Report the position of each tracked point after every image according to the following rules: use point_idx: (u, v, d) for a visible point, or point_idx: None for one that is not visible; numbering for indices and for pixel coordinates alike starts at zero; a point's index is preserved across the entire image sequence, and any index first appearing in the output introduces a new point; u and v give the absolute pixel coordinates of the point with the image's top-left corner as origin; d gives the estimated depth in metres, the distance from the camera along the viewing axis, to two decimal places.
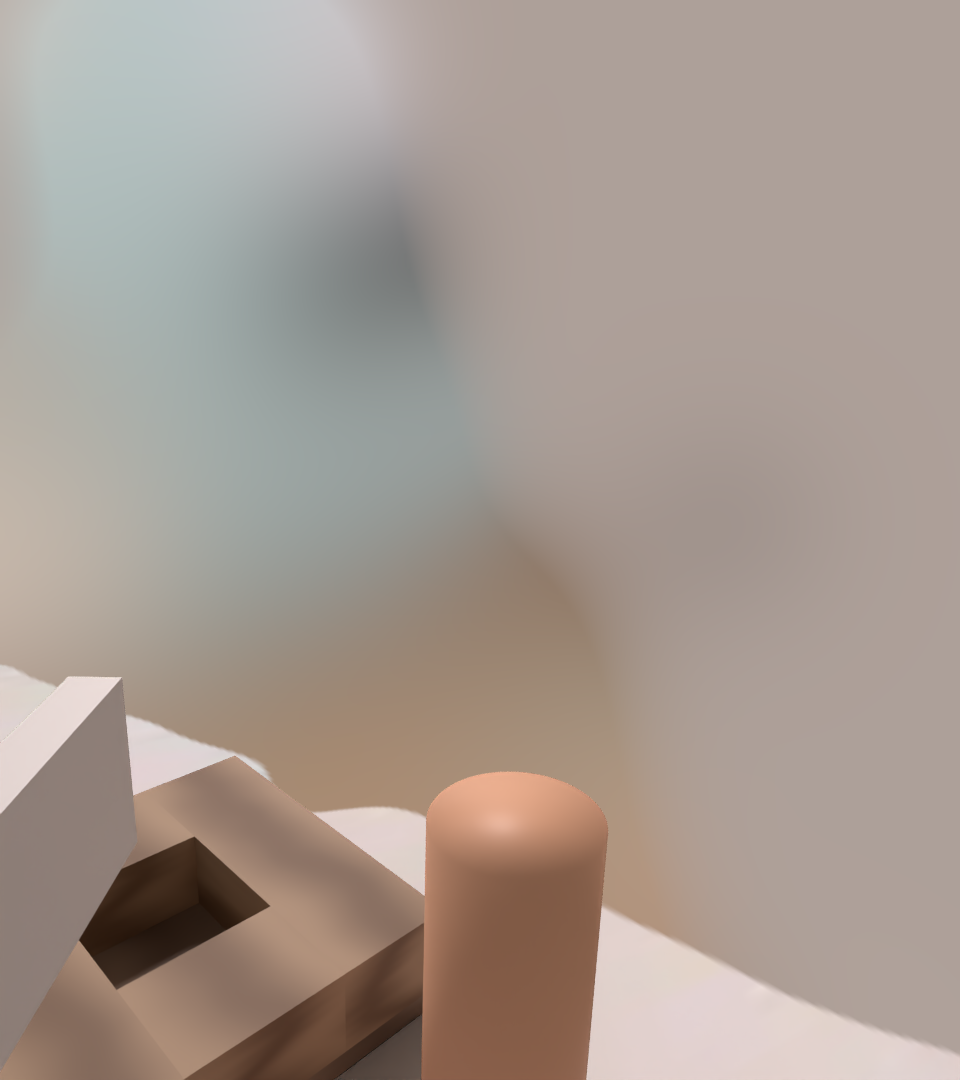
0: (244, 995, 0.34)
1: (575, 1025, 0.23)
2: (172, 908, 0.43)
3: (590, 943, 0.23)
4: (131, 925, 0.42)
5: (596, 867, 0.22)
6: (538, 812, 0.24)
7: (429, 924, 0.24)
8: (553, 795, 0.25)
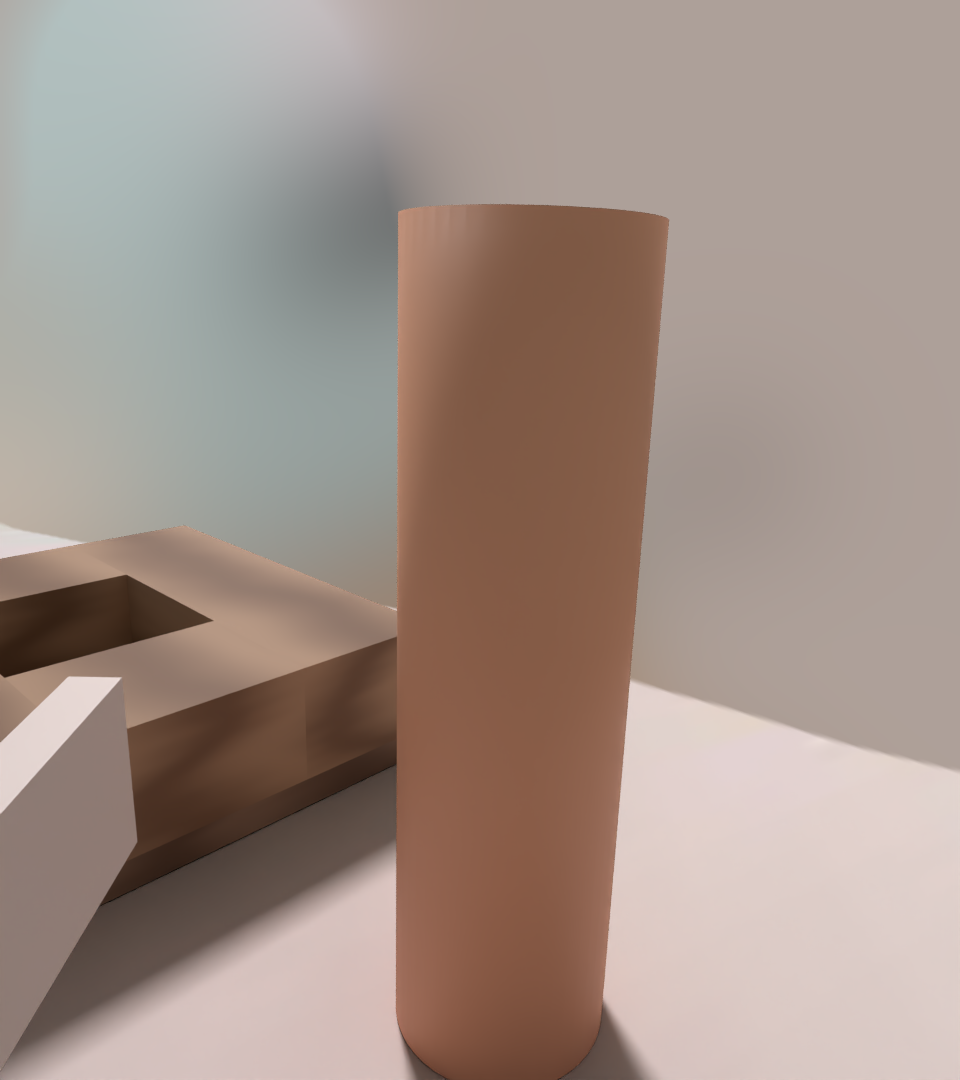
0: (172, 682, 0.26)
1: (622, 514, 0.16)
2: None
3: (645, 380, 0.16)
4: None
5: (655, 239, 0.15)
6: None
7: (404, 366, 0.16)
8: None
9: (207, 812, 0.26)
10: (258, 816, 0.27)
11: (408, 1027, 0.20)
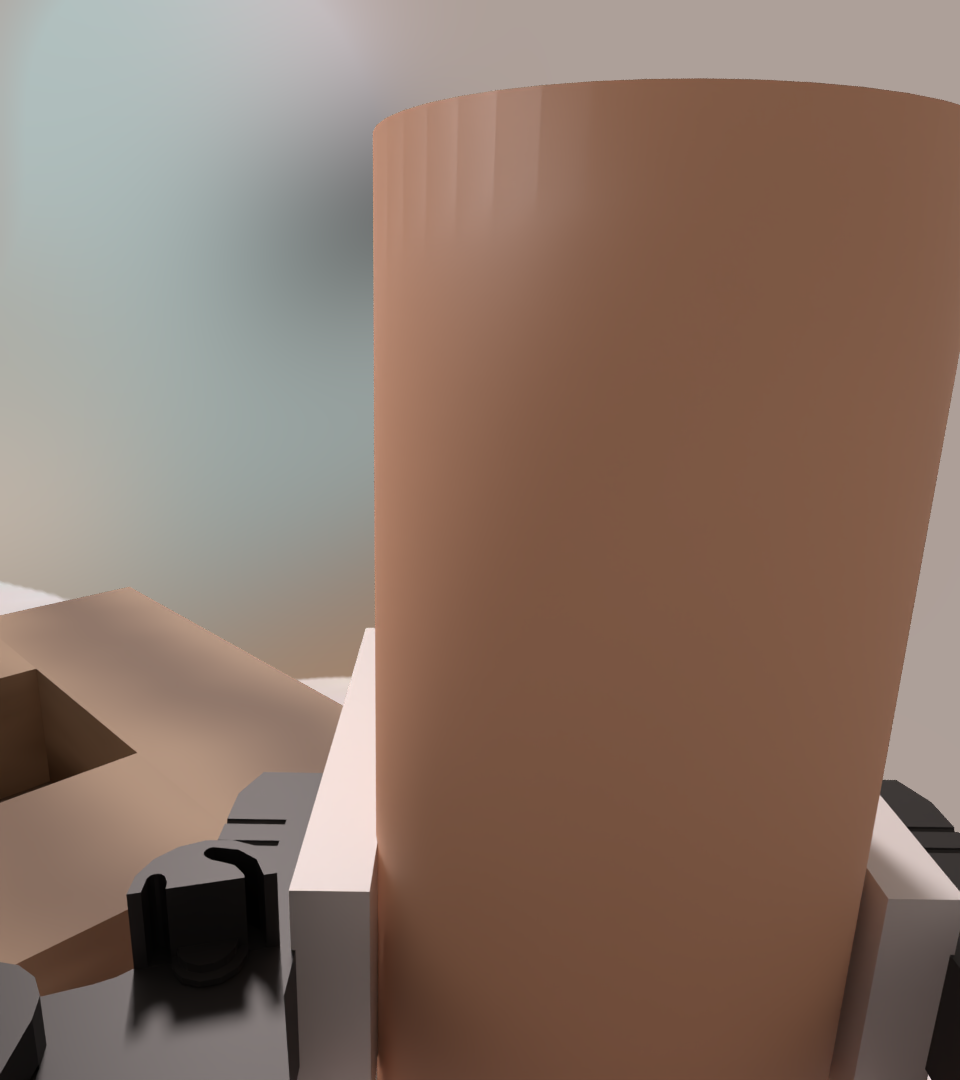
0: (51, 882, 0.17)
1: (866, 798, 0.07)
2: (1, 785, 0.27)
3: (930, 511, 0.07)
4: None
5: None
6: None
7: (385, 472, 0.07)
8: None
9: None
10: None
11: None
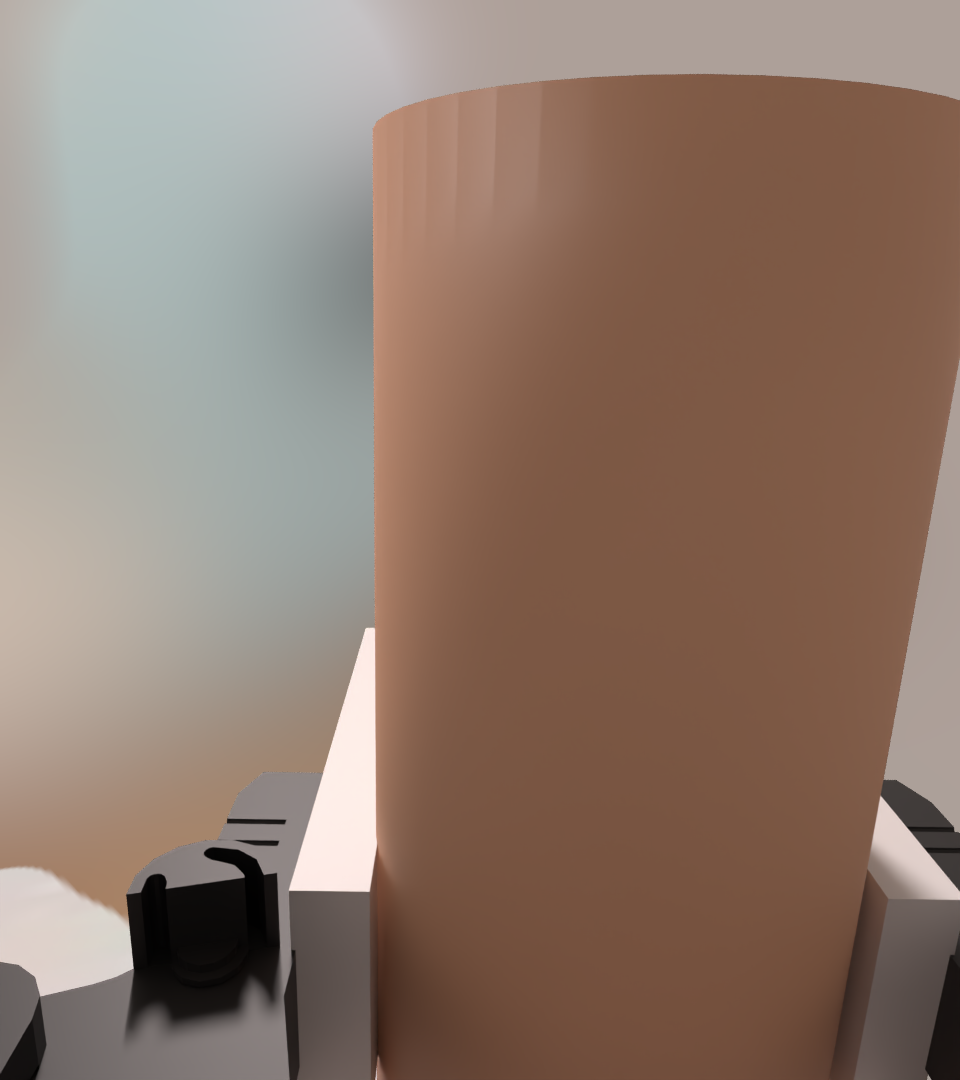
0: None
1: (866, 797, 0.07)
2: None
3: (931, 508, 0.07)
4: None
5: None
6: None
7: (385, 470, 0.07)
8: None
9: None
10: None
11: None
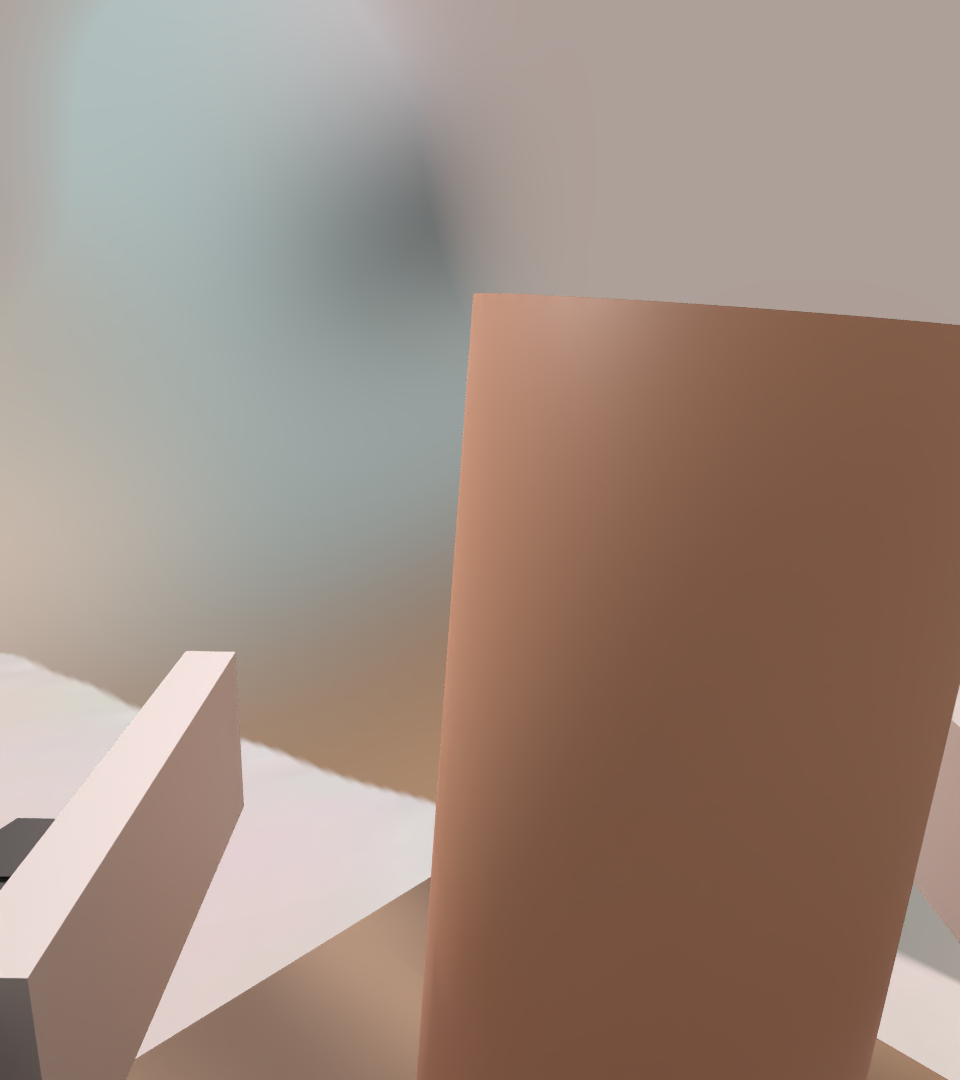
0: None
1: (897, 919, 0.08)
2: None
3: None
4: None
5: None
6: None
7: (471, 599, 0.08)
8: None
9: None
10: None
11: None
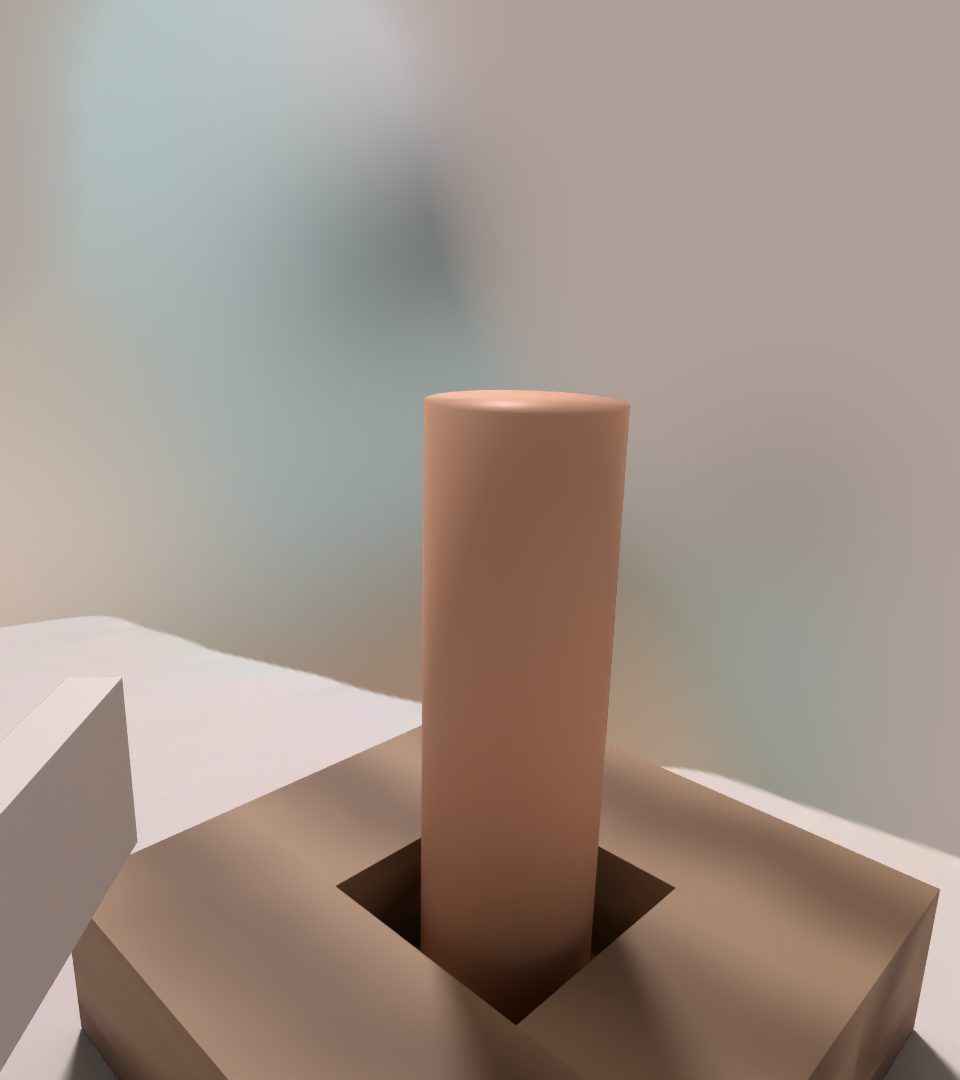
0: (732, 1031, 0.20)
1: (596, 628, 0.21)
2: None
3: (612, 528, 0.20)
4: None
5: (618, 427, 0.20)
6: (550, 400, 0.21)
7: (429, 516, 0.21)
8: (567, 396, 0.22)
9: None
10: None
11: None
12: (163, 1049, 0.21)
